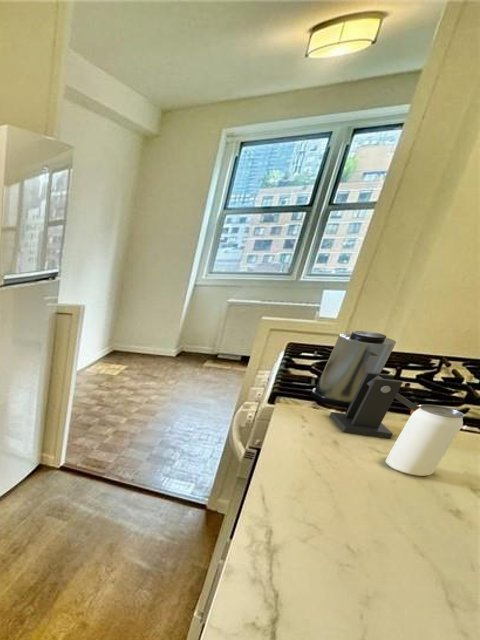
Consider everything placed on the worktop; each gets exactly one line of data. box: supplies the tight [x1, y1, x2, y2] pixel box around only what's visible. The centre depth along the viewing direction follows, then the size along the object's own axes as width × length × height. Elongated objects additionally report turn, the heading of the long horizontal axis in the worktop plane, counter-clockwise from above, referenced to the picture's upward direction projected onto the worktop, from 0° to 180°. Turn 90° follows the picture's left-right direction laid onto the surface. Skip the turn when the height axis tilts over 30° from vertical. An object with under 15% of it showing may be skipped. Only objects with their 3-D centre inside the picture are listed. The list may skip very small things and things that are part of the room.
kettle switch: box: [367, 375, 422, 416], centre depth 102 cm, size 13×3×3 cm
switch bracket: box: [328, 372, 404, 439], centre depth 105 cm, size 8×9×12 cm
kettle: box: [309, 330, 397, 409], centre depth 117 cm, size 11×14×17 cm
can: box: [385, 404, 466, 477], centre depth 89 cm, size 6×6×12 cm
